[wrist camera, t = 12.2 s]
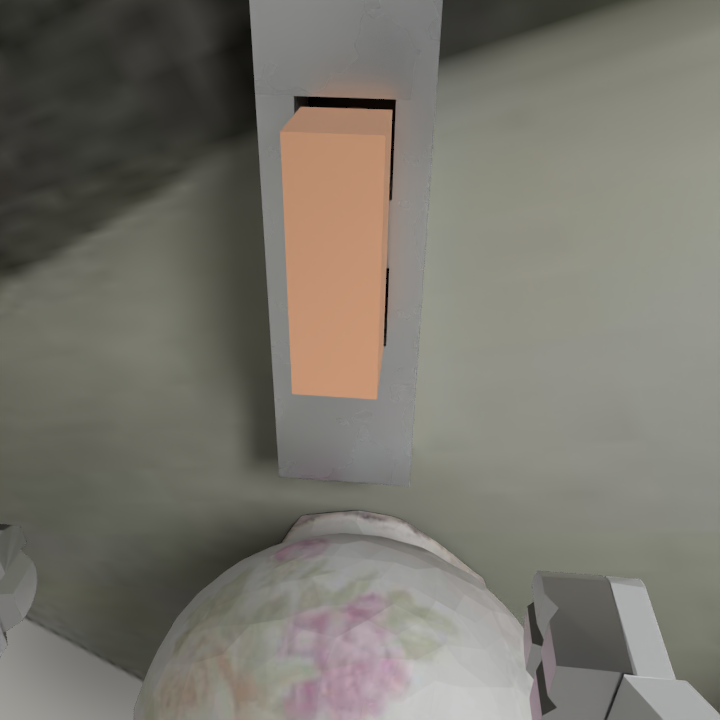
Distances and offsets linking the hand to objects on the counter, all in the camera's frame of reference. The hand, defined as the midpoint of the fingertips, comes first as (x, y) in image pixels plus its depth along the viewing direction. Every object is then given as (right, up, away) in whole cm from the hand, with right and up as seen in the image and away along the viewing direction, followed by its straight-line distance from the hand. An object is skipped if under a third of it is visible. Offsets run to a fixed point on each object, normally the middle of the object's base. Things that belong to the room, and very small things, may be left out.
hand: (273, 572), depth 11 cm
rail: (+1, +10, +17) cm, 19 cm away
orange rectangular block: (+1, +10, +17) cm, 19 cm away
